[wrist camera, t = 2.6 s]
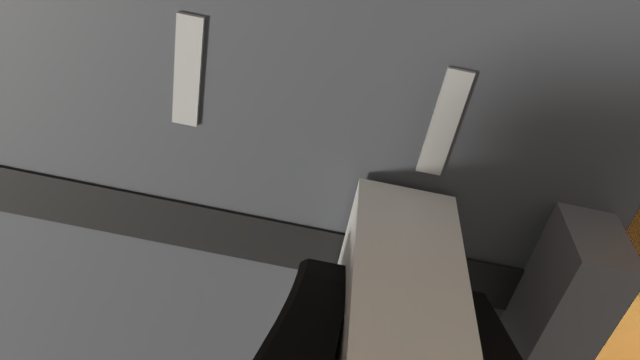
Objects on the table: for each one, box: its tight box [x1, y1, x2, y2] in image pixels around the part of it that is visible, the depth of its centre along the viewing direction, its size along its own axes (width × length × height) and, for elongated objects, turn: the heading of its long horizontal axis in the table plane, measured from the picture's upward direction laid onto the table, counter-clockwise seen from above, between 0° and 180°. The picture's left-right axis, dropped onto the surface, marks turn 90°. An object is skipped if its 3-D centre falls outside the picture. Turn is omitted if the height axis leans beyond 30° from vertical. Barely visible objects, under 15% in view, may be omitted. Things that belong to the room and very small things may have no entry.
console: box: [0, 0, 640, 360], centre depth 11 cm, size 16×16×4 cm
